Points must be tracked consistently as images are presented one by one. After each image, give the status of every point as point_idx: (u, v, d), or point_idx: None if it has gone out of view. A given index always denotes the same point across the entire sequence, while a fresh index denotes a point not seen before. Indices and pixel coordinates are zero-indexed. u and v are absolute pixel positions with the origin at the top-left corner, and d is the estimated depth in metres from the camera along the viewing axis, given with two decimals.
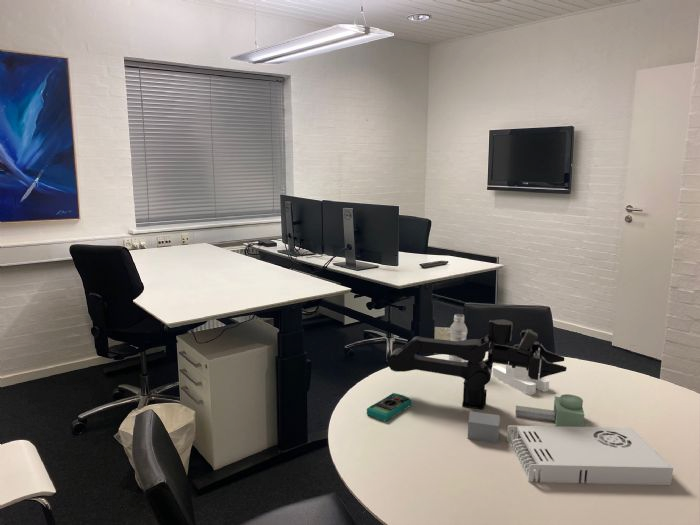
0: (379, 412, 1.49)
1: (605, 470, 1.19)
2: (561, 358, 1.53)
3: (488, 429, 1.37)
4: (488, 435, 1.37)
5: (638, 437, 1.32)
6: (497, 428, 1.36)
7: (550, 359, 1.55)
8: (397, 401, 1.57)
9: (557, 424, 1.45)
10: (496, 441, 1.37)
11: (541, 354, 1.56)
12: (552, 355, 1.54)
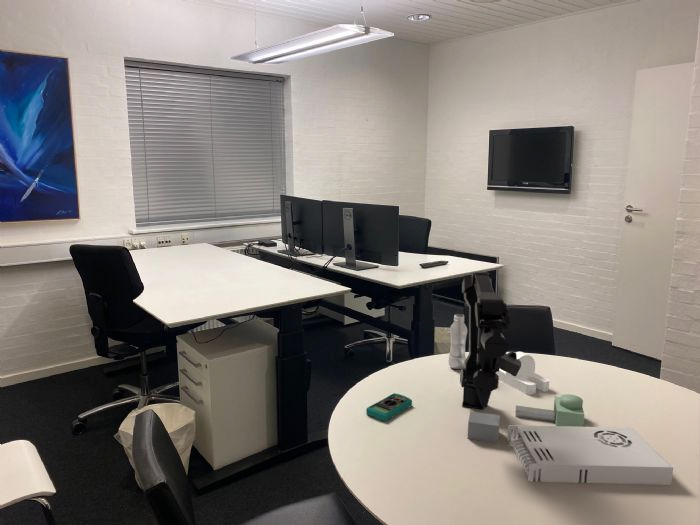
0: (378, 412, 1.49)
1: (605, 469, 1.19)
2: None
3: (488, 429, 1.37)
4: (488, 435, 1.37)
5: (638, 437, 1.32)
6: (497, 428, 1.36)
7: None
8: (397, 401, 1.57)
9: (557, 424, 1.45)
10: (496, 441, 1.37)
11: None
12: None
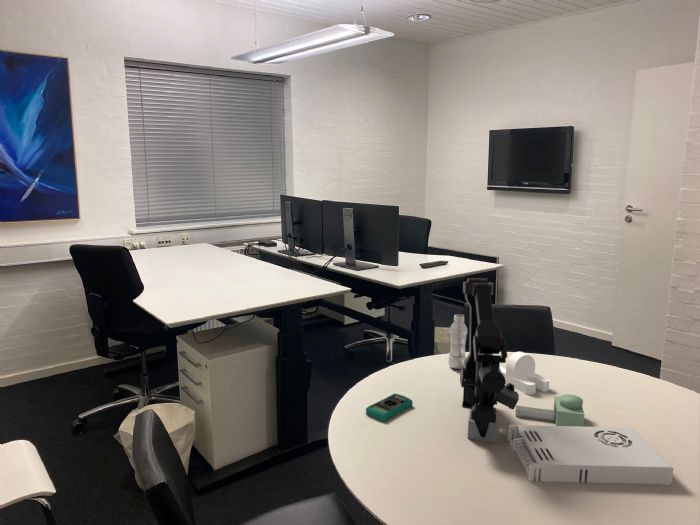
0: (377, 412, 1.49)
1: (605, 469, 1.19)
2: None
3: (488, 429, 1.37)
4: (488, 435, 1.37)
5: (638, 437, 1.32)
6: (497, 428, 1.36)
7: None
8: (397, 401, 1.56)
9: (557, 424, 1.45)
10: (496, 441, 1.37)
11: None
12: None
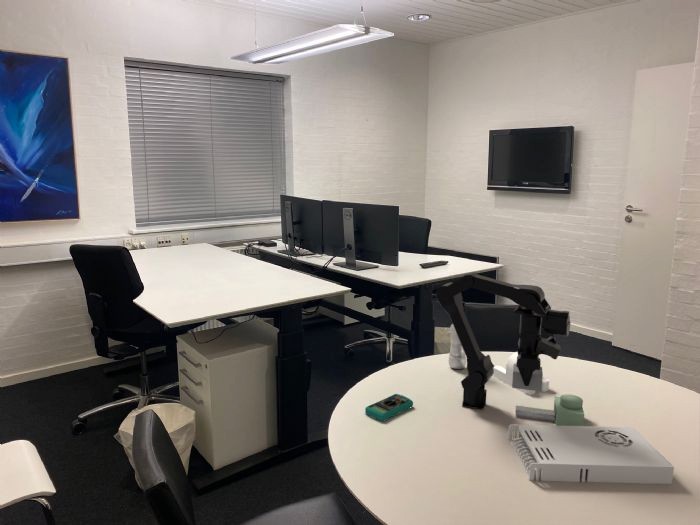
0: (376, 412, 1.50)
1: (606, 469, 1.19)
2: None
3: (531, 378, 1.46)
4: (532, 384, 1.46)
5: (639, 437, 1.32)
6: (541, 377, 1.45)
7: None
8: (397, 402, 1.56)
9: (557, 424, 1.45)
10: (539, 389, 1.46)
11: None
12: None
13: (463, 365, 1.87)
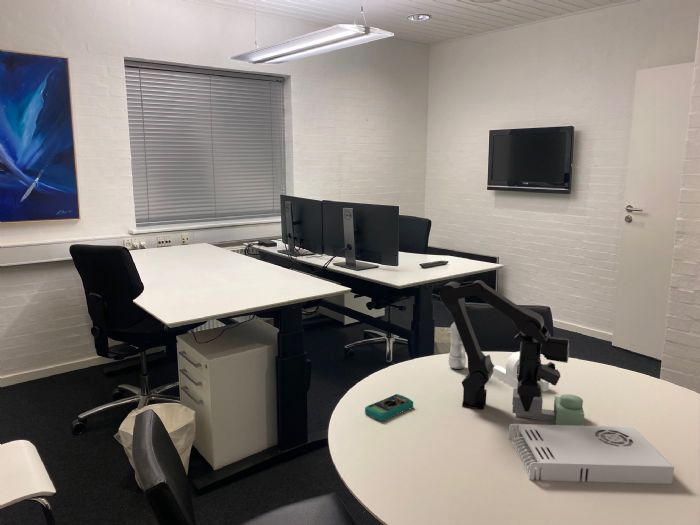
0: (376, 412, 1.50)
1: (606, 468, 1.19)
2: None
3: (532, 404, 1.48)
4: (532, 409, 1.49)
5: (639, 436, 1.32)
6: (540, 403, 1.48)
7: None
8: (398, 402, 1.56)
9: (557, 424, 1.45)
10: (539, 415, 1.48)
11: None
12: None
13: (463, 365, 1.87)
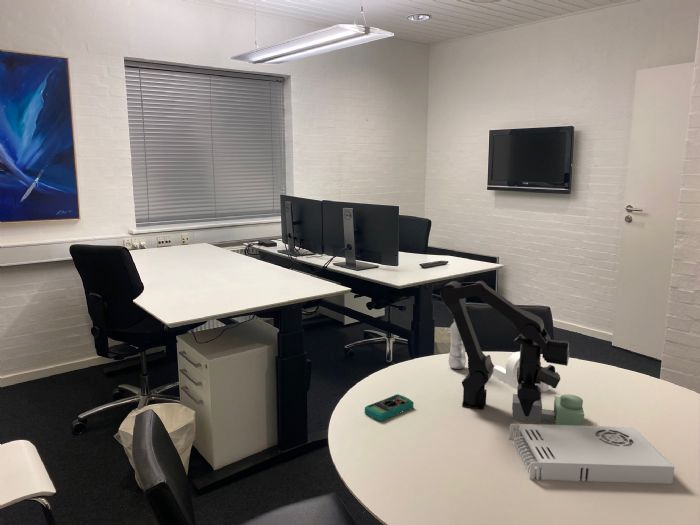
0: (375, 412, 1.50)
1: (606, 468, 1.20)
2: None
3: (531, 409, 1.49)
4: (531, 415, 1.49)
5: (640, 437, 1.32)
6: (540, 408, 1.48)
7: None
8: (398, 402, 1.56)
9: (557, 424, 1.45)
10: (539, 420, 1.49)
11: None
12: None
13: (463, 365, 1.87)
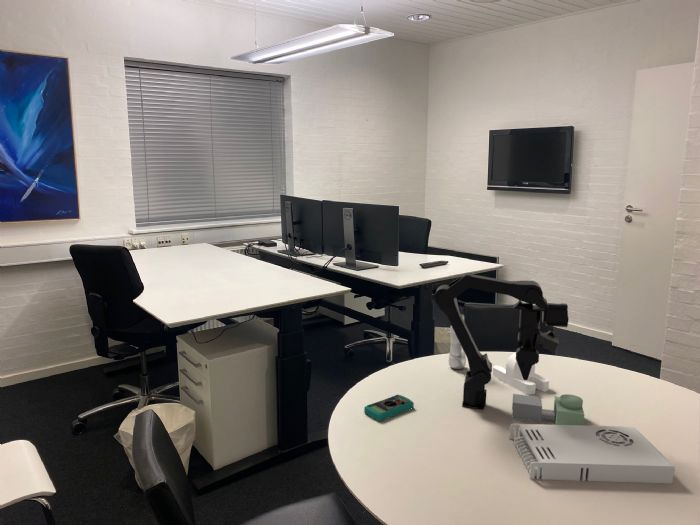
0: (374, 411, 1.50)
1: (606, 468, 1.20)
2: None
3: (531, 409, 1.49)
4: (531, 415, 1.49)
5: (640, 436, 1.32)
6: (540, 408, 1.48)
7: None
8: (398, 403, 1.56)
9: (557, 424, 1.45)
10: (539, 420, 1.49)
11: None
12: None
13: (463, 365, 1.87)
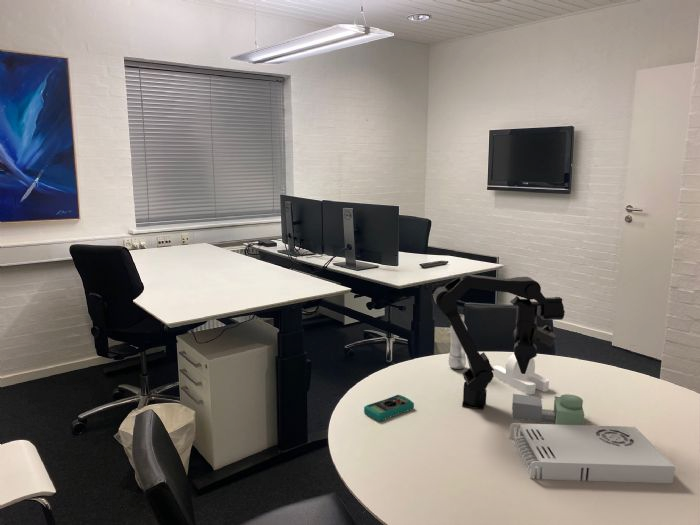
0: (374, 411, 1.50)
1: (607, 468, 1.20)
2: None
3: (531, 409, 1.49)
4: (531, 415, 1.49)
5: (640, 436, 1.32)
6: (540, 408, 1.48)
7: None
8: (398, 403, 1.56)
9: (557, 424, 1.45)
10: (539, 420, 1.49)
11: None
12: None
13: (463, 365, 1.87)
